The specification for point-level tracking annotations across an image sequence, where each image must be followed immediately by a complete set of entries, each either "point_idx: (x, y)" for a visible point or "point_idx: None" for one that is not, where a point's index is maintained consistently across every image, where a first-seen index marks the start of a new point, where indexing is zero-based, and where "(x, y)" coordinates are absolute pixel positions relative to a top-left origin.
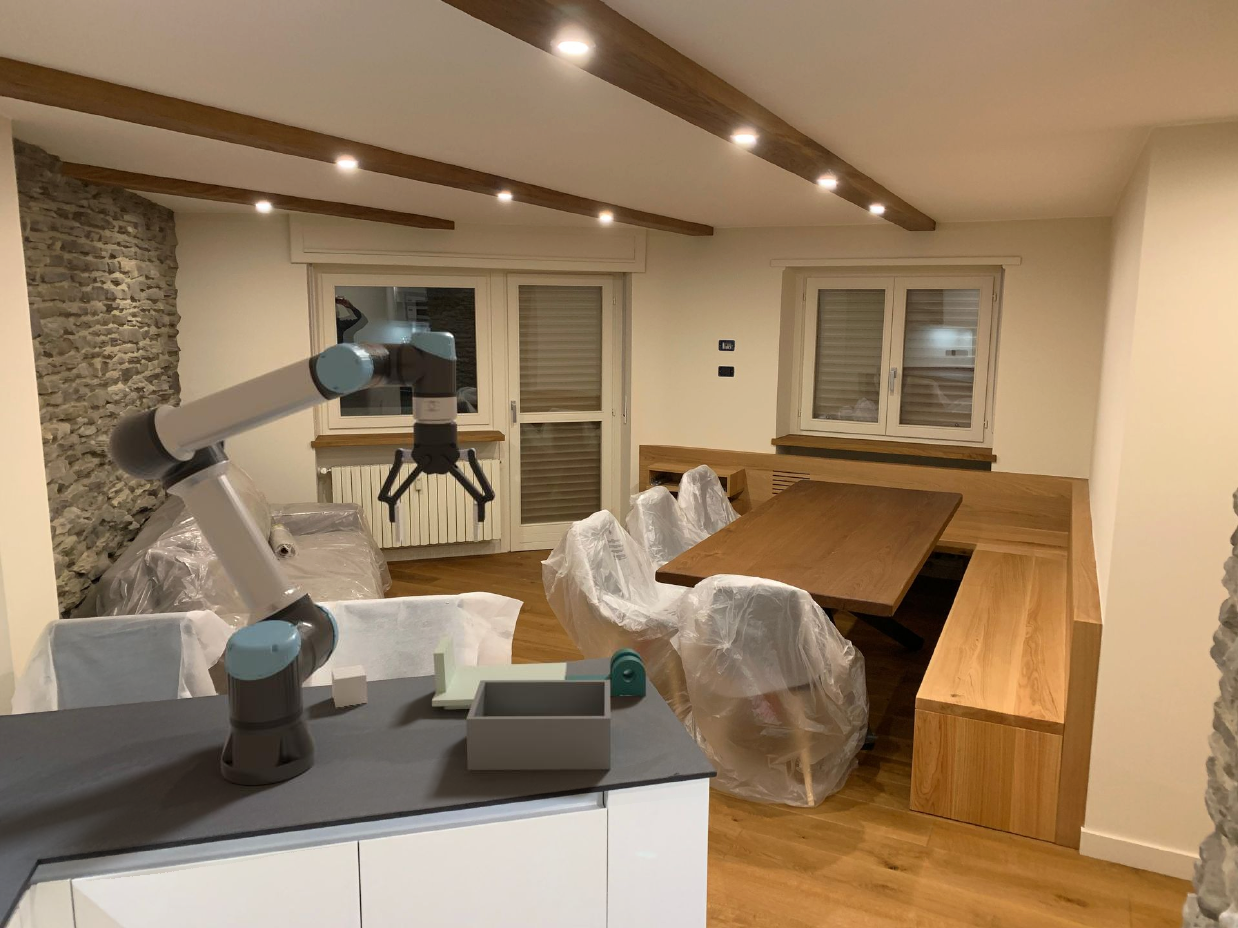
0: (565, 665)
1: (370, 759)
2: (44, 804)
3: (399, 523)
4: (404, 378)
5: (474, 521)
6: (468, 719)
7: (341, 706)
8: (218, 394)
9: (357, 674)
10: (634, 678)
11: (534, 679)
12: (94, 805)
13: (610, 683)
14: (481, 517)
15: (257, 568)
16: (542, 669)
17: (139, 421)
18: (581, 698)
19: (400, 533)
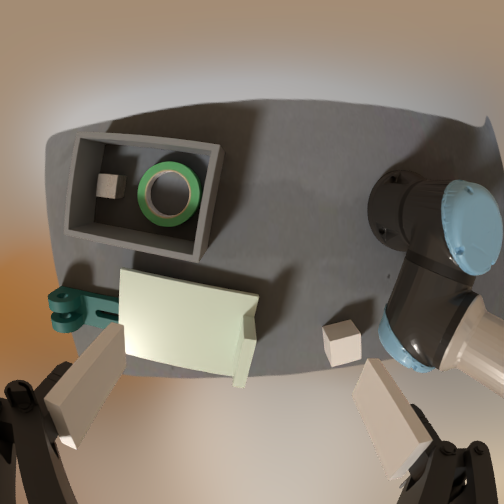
0: None
1: (319, 196)
2: (499, 191)
3: (390, 396)
4: None
5: (87, 361)
6: (217, 144)
7: (346, 321)
8: None
9: (338, 343)
10: (61, 295)
11: (147, 321)
12: (481, 179)
13: (82, 302)
14: (62, 373)
15: None
16: (141, 343)
17: None
18: (97, 230)
19: (372, 383)
